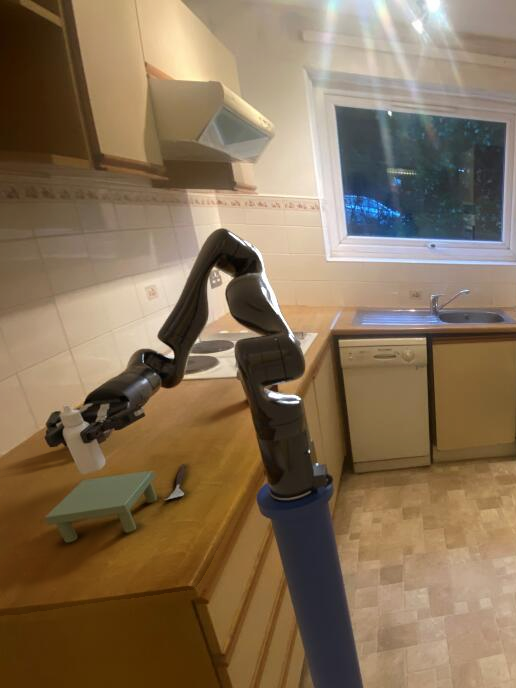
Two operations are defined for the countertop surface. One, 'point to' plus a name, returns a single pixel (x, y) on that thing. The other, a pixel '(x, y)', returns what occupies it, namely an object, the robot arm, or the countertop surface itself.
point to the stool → (102, 501)
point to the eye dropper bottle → (81, 442)
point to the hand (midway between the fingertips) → (67, 440)
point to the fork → (177, 491)
